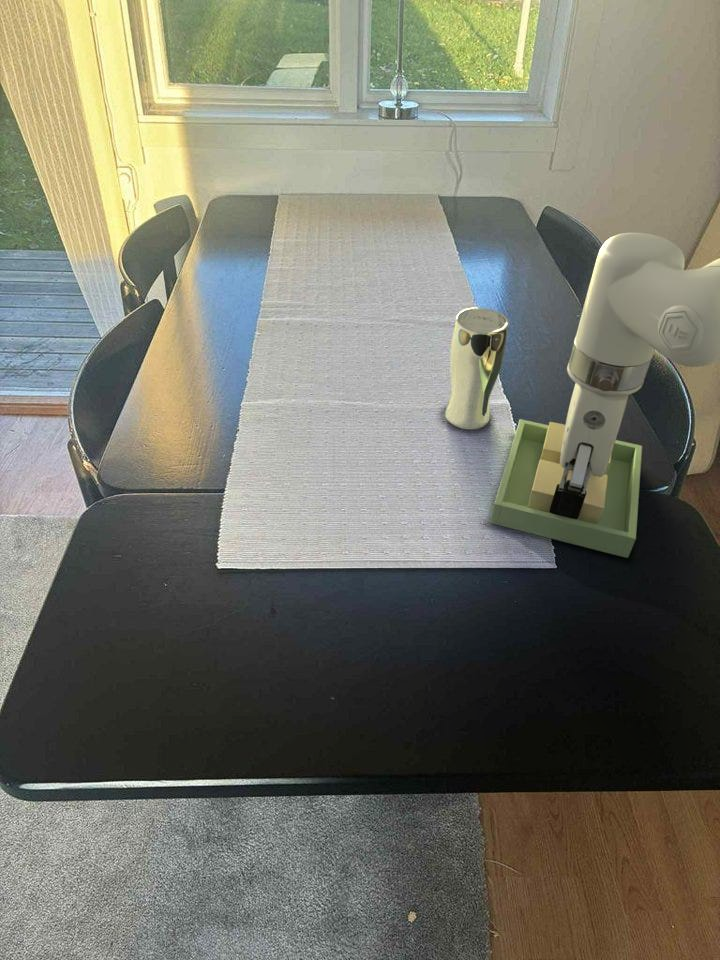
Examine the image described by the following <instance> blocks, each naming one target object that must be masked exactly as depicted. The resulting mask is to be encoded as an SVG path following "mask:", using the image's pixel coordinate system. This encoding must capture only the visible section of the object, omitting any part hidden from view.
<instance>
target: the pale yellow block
mask: <svg viewBox="0 0 720 960" xmlns="http://www.w3.org/2000/svg"><path fill="white" fill-rule="evenodd" d="M548 425H549V427H548V431H547V435H546V438H545V442H544V446H543V450H542V454H541V459H540V460H544V461H548V462H553V463H557V464H560V457H561V449H562V443H563V436H564V430H565V425H566V424H563V423H558V422H553V421H549V423H548ZM611 456H612V453H611ZM611 456H610V459H609V462H608V466H607V469H606V473H605V475H607V473H608V470H609V467H610V464H611ZM591 472H592V470H591Z"/></svg>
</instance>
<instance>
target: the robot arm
mask: <svg viewBox="0 0 720 960" xmlns="http://www.w3.org/2000/svg"><path fill="white" fill-rule="evenodd" d="M685 263H686V262H685V256H684V253H683V251H682V249H681V248H680V247H679V246H678V245H677V244H676V243H674V242H672V241H671V240H670V239H669V240H668V239H667V238H664V237H662V236H659V235H656V234H655V235H654V234H651V233H644V232H622V233H619V234H615V235H614V236H611V237H609V238H608V239H607V240H606V241H604V243H603V244H602V245H601V247H600V249H599V251H598V253H597V257H596V260H595V263H594V267H593V270H592V275H591V278H590V282H589V285H588V289H587V293H586V296H585V299H584V300H585V301H584V304H583V307H582V312H581V315H580V319H579V323H578V327H577V331H576V333H575V338H574V341H573V345H572V349H571V353H570V355H569V356H570V357H569V360H568V363H567V367H566V371H567V374H568V376H569V378H570V379H571V380H572V381H573V382H574V383H575V384H574V387H573V391H572V394H571V398H570V402H569V407H568V410H567V415H566V420H565V424H564V425H565V430H564V436H563V443H562V449H561V457H560V465H561V466H562V468H563V469H564V471H563V474H562V478H561V482H560V484H557V486H556V490H555V493H554V497H553V500H552V503H551V507H550V513H552V514H556V515H560V516H564V517H568V518H572V519H578V517H579V514H580V511H581V508H582V505H583V502H584V499H585V496H586V493H587V491H586V488H587V484H588V481H589V477H590V474H591V470H592V473H593V475H594V476H598V477H602V476H604V475H605V473H606V469H607V466H608V462H609V459H610V456H611V453H612V450H613V446H614V443H615V440H617V437H618V434H619V431H620V428H621V424H622V421H623V419H624V414H625V411H626V408H627V403H628V398H629V395H632V394H635V393H636V392H638V391H639V390H641V389H642V386H643V385H644V383H645V382H644V381H645V379H646V376H647V373H648V371H649V368H650V365H651V362H652V360H653V357H654V356H653V355H654V354H655V351H656V352H658V353H659V354H660V355H662V356H663V357H665V358H666V359H668V360H669V361H671V362H673V363H676V364H678V365H681V366H685V367H688V368H689V367H690V368H691V367H692V368H699V367H704V366H708V365H711V364H714V363H717V362H718V361H720V257H719V258H717V259H715V260H713V261H711V262H710V263H708V264H706V265H704V266H702V267H699V268H693V269H685ZM569 470H571V471H573V472H572V476H571V479H570V480H567V476H568V472H569ZM566 480H567V481H566Z"/></svg>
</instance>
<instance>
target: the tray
mask: <svg viewBox="0 0 720 960" xmlns="http://www.w3.org/2000/svg"><path fill="white" fill-rule="evenodd" d="M548 427H549V424H544V423H541V422H540V423H539V422H534V421H531V420H525V419H522V418H520V419H519V420H518V424H517V427H516V431H515V434H514V437H513V441H512V444H511V447H510V451H509V454H508V457H507V460H506V463H505V466H504V467H505V468H504V470H503V474H502V477H501V480H500V484H499V487H498V490H497V494H496V497H495V501H494V504H493V507H492V508H493V509H492V513H491V519H490V524H493V525H496V526H501V527H504V528H509V529H512V530H516V531H520V532H523V533H528V534H533V535H535V536H540V537H544V538H547V539H551V540H555V541H559V542H563V543H566V544H567V543H568V544H571V545H575V546H578V547H583V548H587V549H590V550H595V551H598V552H602V553H606V554H610V555H613V556H617V557H622V558H626V559H628V558H629V557H630V554H631V552H632V549H633V547H634V545H635V542H636V540H637V527H638V515H639V514H638V512H639V497H640V483H641V469H642V456H643V455H642V454H643V445H640V444H635V443H631V442H628V441H627V442H626V441H622V440H618V439H616V440H615V443H614V446H613V450H612V456H611V464H610V467H609V470H608V473H607V475H608V481H607V488H606V496H605V504H604V509H603V512H602V515H601V518H600V521H599V523H598V525H596V524H592V523H588V522H584V521H580V520H576V519H572V518H568V517H564V516H560V515H556V514H552V513H548V512H544V511H540V510H536V509H532V508H528V504H529V500H530V496H531V492H532V488H533V484H534V480H535V476H536V472H537V468H538V464H539V461H540V459H541V454H542V450H543V446H544V442H545V438H546V435H547V431H548Z"/></svg>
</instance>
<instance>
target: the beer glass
mask: <svg viewBox="0 0 720 960" xmlns="http://www.w3.org/2000/svg"><path fill="white" fill-rule="evenodd" d="M455 319H456V320H455V324H454V328H453V331H452V337H451V344H450V351H449V359H450V360H449V365H450V366H449V367H450V369H449V370H450V385H451V389H450V390H451V391H450V398H449V401H448V404H447V407H446V409H445V414H444V416H445V419H446V420H447V421H448V423H450V424H451V425H453V426H454V427H456V428H459V429H462V430H478V429H481V428H483V427H485V426H487V425H488V423H489V421H490V401H491V400H490V399H491V396H492V393H493V389H494V387H495V384H496V382H497V380H498V377H499V375H500V372H501V369H502V366H503V363H504V359H505V354H506V349H507V342H508V330H509V324H510V322H509V319H508V317H507V316H506V315H504V314H503V313H502V312H500V311H498V310H494V309H492V308H486V307H470V308H465V309H463V310H461V311H459V313H458V314H457V315H456V318H455Z"/></svg>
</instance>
